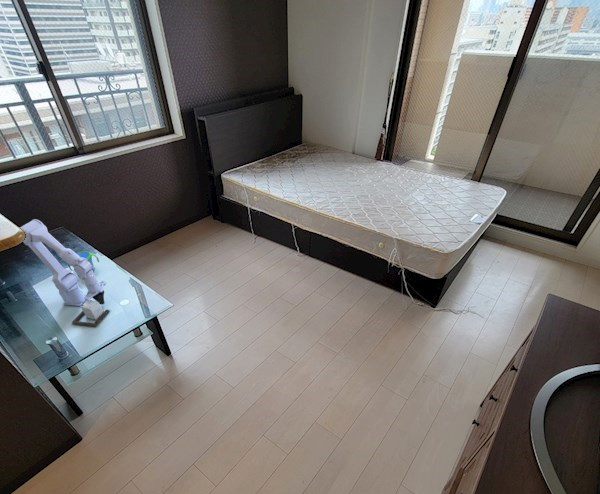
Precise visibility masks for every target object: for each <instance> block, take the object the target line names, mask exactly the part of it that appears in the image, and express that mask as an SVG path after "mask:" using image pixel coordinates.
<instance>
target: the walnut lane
mask: <svg viewBox="0 0 600 494" xmlns="http://www.w3.org/2000/svg"><path fill="white" fill-rule="evenodd" d="M109 313H110V310H109V309H105V310H104V313H103V314H102V315H101V316H100V317H99V318H98V319H97V320H95V321H94V323H93V322H85V321H80V320H81V319H82V318H83V316H85V314H84V312H83V310H81V312H80V313H79V314H78V315H77V316H76V317H75V318H74V319H73V320H72V321H71V324H72V325H77V326H85V327H93V328H96V327H97V326H98V325H99V324H100V323H101V321H103V319H104V318H105V317H106V316H107V315H108V314H109Z"/></svg>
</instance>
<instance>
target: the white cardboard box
mask: <svg viewBox="0 0 600 494" xmlns="http://www.w3.org/2000/svg"><path fill="white" fill-rule="evenodd" d="M80 309H81V311H83V312H84V316H85V317H86V318H87V319H91V320H94V321H97V319H98V318H99V317H100V316H101V315H102V314H103V313H104V312H105V310H104V308H103V307H102V304H100V303H99V302H97V301H96V300H94V299H90V301H89V302H87V301H85V302H84V303H83V304H82V305H81V306H80Z"/></svg>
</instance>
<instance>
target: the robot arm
mask: <svg viewBox="0 0 600 494" xmlns="http://www.w3.org/2000/svg"><path fill="white" fill-rule="evenodd" d="M19 228H21V229H22V230H23V231H24V232H25V234H26V238H25V240H24V241H22V242H23V244H24V245H25V246H28V247H29V248H30V249H31V251H32V252H33V253H34V254H35V255H36V256H37V257H38V258H39V260H40V261H41V262H42V263H43V264H44V266H45V267H47V269H48V270H49V271H50V272H51V274H52V279H51V281H52V283H53V284H54V286H55V288H56V289H57V290H58V293H59V295H60V297H61V299H62V300H63V302H64V303H63V305H69V306H74V307H75V306H76V307H81V306H82V305H83V304H84V303H86V302H89V301H90V300H94V301H97V302H99V303H100V305H101V306H103V305H104V304H105V290H104V289H103V288H104V286H107V282H106V281H104V280H101V281H100V282H99V280H98V278H97V276H96V274H95V272H94V270H93V271H92V268H93V265H94V263H93V264H92V263H91V262H90V261H89V260H88V259H85V258H83V257H80V256H79V255H77V254H76V253H77V252H75V251H74V250H73V249H71V248H68V247H65V246H64V245H63V244H62V243H60V242H59V241H58V240H57V239H56V238H55V237H54V236H53V235H52V234H51V233H50V232H49V231H48V227H47V226H46V225H45V224H44V223H43V222H42V221H41V220H39V219H36V218H33V219H32V220H31V221H29V222H27V223H25V224H23V225H22V226H20V227H19ZM45 245H46V246H48V247H49V248H51V249H52V250H54V251H55V252H57V253H58V254H59V257H60V259H61V260H63V261H64V262H66V263H67V265H68V264H69V265H70V267H72V268H73V270H72V271H71V270H70V268H64V267H63V266H62V265H61V262H59V261H58V260H57V259H56V257H55V256H54V255H53V254H52V252H50V250H49V249H48V248H47V247H46V246H45ZM80 278H81V280H82V281H83V283H84V286H85V287H86V290H87V292H86V295H84V293H83V291H82V289H81V287H80V286H79V285H80V283H79V282H80Z"/></svg>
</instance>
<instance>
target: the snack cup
mask: <svg viewBox="0 0 600 494" xmlns="http://www.w3.org/2000/svg"><path fill="white" fill-rule="evenodd" d="M75 253H76V254H77V255H79V256H80V257H83V258H85V259H88V260H89V261H90V262H91V263H92V264H93V268H92V271H93V272H94V270H95V265H94V262H93V259H92V257H93V256H94V257H96V260H97V263H100V259H99V258H98V256H97V255H96V254H95V253H92V252H89V251H78V252H75ZM67 266H68V269H70V270H71V271H72V272H73V269H72V268H71V267H72V266H71V265H70V264H68V263H67Z"/></svg>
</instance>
